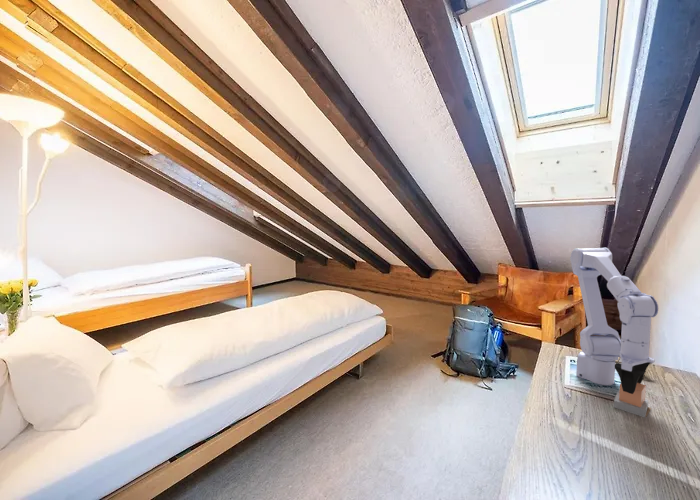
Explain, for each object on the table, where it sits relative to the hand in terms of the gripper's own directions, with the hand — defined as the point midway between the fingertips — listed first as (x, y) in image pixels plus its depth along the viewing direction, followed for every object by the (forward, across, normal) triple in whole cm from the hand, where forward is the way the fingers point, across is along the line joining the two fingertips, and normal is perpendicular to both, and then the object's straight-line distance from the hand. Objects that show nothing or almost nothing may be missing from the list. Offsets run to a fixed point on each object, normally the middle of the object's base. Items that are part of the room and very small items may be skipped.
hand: (632, 386), depth 86 cm
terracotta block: (+4, 0, 0) cm, 4 cm away
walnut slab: (+8, 0, 0) cm, 8 cm away
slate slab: (+6, 0, 0) cm, 6 cm away
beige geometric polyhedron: (+7, +26, +5) cm, 27 cm away
